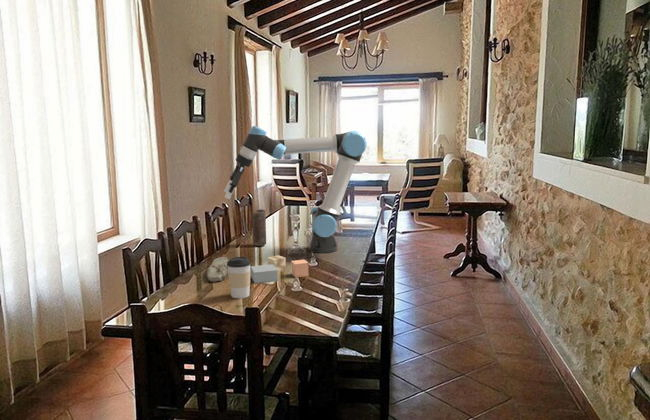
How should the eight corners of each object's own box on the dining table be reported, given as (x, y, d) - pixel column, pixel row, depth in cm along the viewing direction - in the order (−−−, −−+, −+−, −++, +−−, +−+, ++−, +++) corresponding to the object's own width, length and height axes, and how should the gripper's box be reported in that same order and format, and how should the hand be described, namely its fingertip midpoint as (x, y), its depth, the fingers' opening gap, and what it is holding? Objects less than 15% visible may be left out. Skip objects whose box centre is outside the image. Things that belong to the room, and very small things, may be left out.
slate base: (273, 275, 217) (273, 264, 216) (278, 281, 208) (277, 270, 207) (251, 277, 214) (250, 266, 213) (254, 284, 205) (254, 272, 204)
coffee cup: (229, 292, 194) (228, 255, 192) (252, 291, 195) (251, 254, 192) (227, 299, 185) (225, 261, 183) (251, 298, 186) (249, 260, 183)
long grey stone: (232, 264, 241) (212, 266, 240) (231, 253, 241) (211, 255, 240) (228, 281, 207) (204, 284, 206) (227, 269, 206) (202, 271, 205)
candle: (269, 244, 274) (267, 209, 271) (263, 247, 267) (261, 211, 264) (256, 243, 277) (255, 209, 273) (250, 246, 270) (249, 211, 267)
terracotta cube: (304, 272, 219) (304, 259, 218) (308, 276, 214) (308, 262, 213) (291, 273, 218) (291, 260, 217) (295, 277, 212) (294, 264, 211)
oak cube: (278, 267, 228) (278, 255, 227) (285, 270, 223) (285, 257, 222) (267, 270, 224) (267, 257, 223) (274, 273, 219) (274, 260, 218)
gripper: (237, 150, 248) (219, 187, 251) (240, 156, 224) (219, 197, 227) (251, 156, 250) (232, 193, 253) (254, 163, 227) (234, 204, 229)
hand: (226, 195), depth 240 cm, fingers open, 13 cm apart
